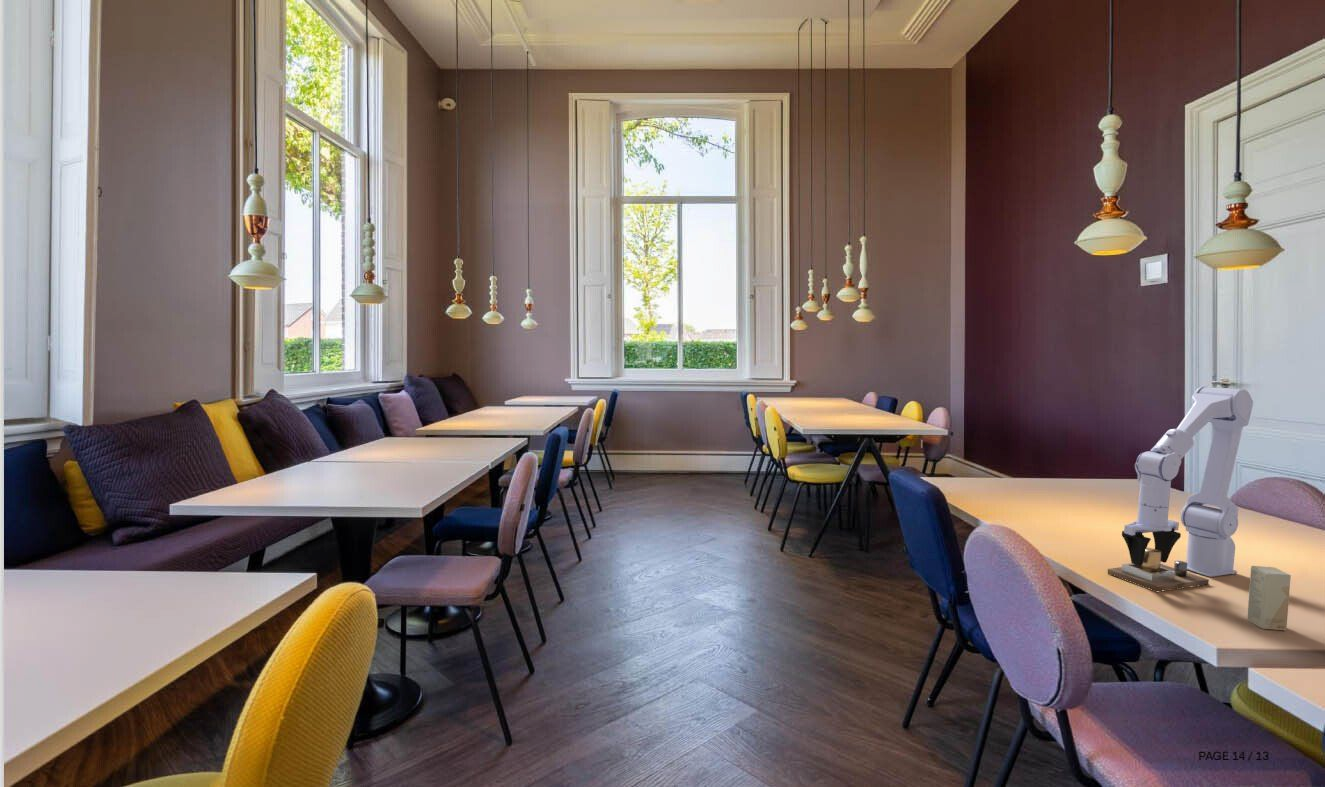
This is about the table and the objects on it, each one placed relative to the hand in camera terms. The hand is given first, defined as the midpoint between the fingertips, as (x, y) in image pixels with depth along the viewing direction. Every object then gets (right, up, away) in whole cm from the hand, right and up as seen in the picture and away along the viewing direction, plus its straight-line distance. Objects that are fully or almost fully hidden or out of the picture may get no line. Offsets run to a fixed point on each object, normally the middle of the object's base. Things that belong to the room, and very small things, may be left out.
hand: (1148, 562), depth 162 cm
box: (+7, -7, -23) cm, 25 cm away
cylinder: (0, -3, 0) cm, 3 cm away
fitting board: (+3, -4, +1) cm, 5 cm away
